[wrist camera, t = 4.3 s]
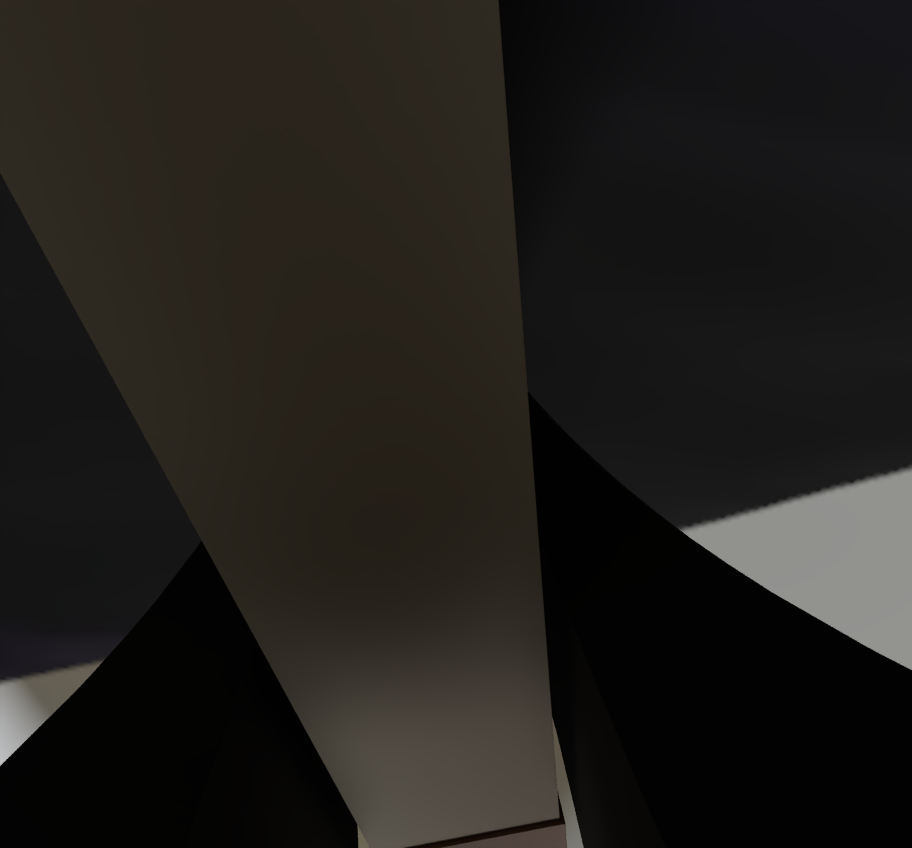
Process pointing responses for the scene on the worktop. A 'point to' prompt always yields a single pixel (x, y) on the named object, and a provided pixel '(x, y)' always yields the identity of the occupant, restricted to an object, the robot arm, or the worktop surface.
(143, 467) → the worktop surface
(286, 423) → the brown-tipped cream rod
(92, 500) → the worktop surface
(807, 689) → the robot arm
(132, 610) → the worktop surface
